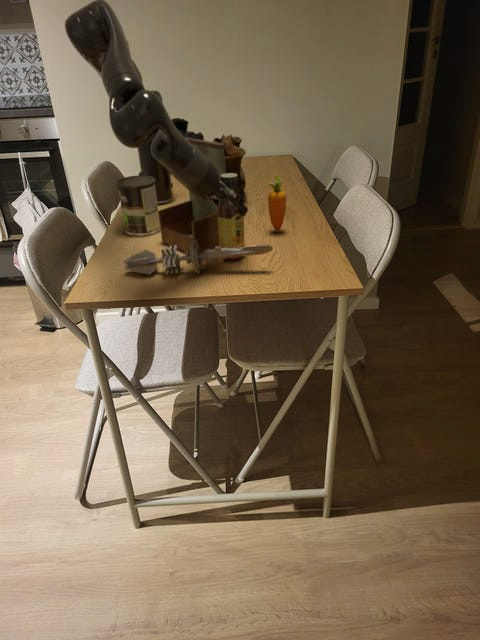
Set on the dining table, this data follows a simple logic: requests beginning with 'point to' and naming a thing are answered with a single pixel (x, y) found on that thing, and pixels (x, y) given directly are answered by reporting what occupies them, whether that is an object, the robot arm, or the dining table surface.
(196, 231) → the bottle rack
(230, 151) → the pottery vessel
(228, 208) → the sauce bottle
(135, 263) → the spaceship
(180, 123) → the coal bowl
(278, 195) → the carrot
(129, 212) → the coffee can
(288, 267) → the dining table surface
